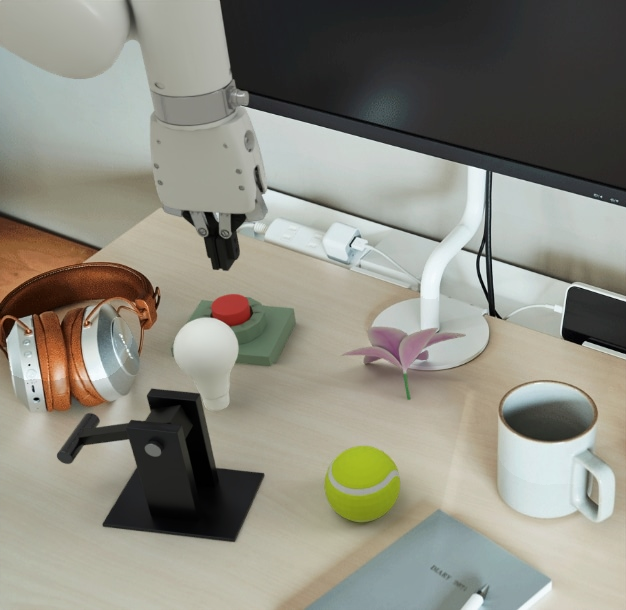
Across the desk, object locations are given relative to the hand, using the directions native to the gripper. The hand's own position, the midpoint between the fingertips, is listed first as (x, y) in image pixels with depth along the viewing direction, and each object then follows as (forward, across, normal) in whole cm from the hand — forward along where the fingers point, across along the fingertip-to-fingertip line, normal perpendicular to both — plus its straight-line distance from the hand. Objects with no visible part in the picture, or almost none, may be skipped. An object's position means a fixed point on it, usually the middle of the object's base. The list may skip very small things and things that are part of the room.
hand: (225, 263), depth 98 cm
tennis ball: (+11, -20, +22) cm, 32 cm away
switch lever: (+3, 0, +24) cm, 24 cm away
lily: (+11, -20, +4) cm, 23 cm away
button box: (+11, 0, 0) cm, 11 cm away
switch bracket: (+11, -4, +24) cm, 27 cm away
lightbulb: (+11, -2, +11) cm, 16 cm away
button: (+7, 0, 0) cm, 7 cm away
